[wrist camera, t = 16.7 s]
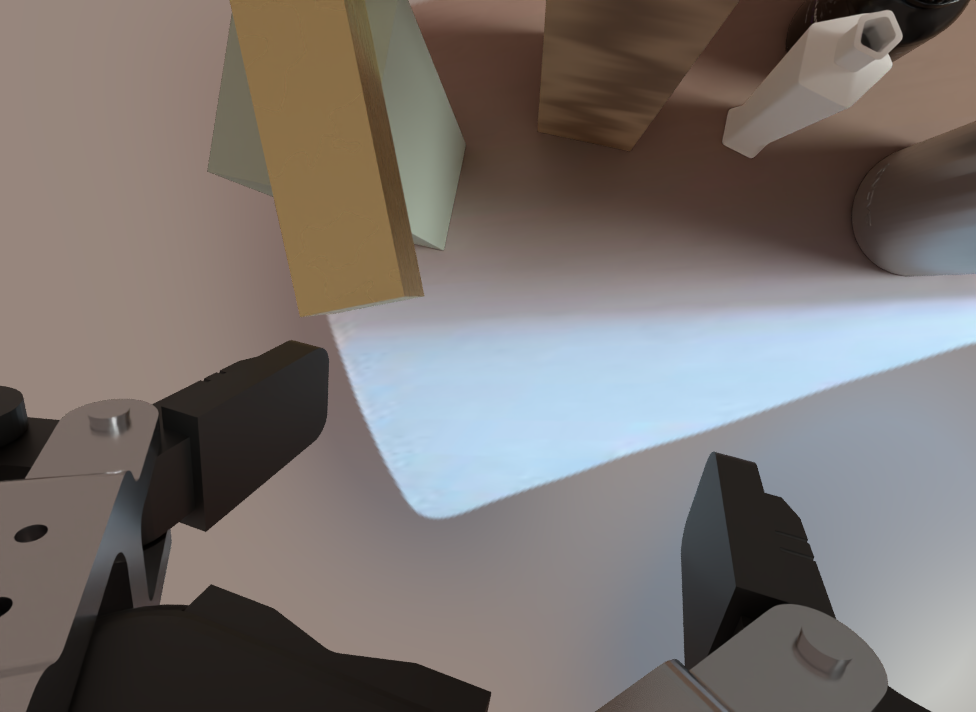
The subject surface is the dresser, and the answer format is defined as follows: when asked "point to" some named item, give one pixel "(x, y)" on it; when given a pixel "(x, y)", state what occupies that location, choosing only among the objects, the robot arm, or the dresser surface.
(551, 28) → the stand
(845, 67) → the perfume bottle
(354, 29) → the rail
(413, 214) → the block
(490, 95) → the dresser surface
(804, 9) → the supplement bottle
